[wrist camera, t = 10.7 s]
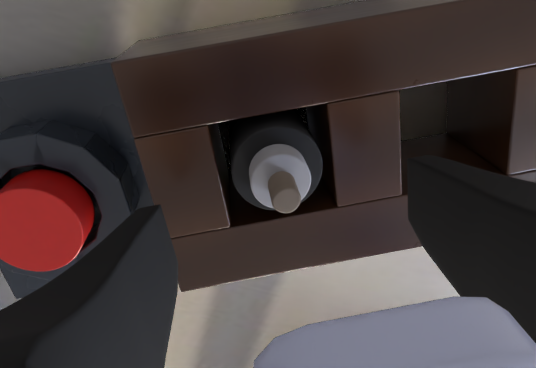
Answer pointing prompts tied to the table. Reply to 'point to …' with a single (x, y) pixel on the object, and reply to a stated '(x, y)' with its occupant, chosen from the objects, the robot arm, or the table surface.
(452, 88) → the stand
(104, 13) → the table surface
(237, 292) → the table surface
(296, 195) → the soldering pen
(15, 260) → the power button
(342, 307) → the table surface
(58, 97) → the control box
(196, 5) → the table surface
